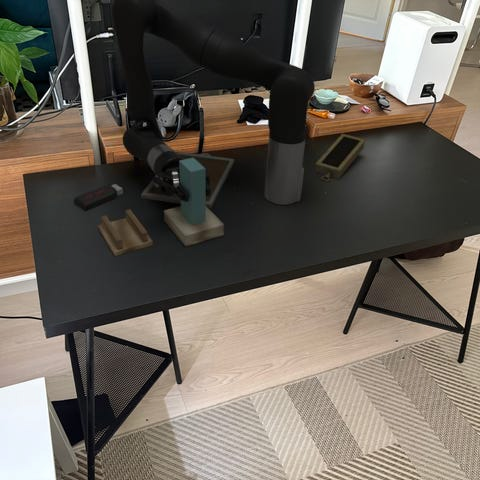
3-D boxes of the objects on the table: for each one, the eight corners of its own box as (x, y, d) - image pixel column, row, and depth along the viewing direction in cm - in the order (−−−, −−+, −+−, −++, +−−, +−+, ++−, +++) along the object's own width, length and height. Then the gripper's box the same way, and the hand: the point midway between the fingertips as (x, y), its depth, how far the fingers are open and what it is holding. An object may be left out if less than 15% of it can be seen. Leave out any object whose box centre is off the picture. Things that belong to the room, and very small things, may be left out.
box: (364, 152, 152) (366, 138, 149) (335, 191, 139) (336, 177, 135) (339, 146, 155) (341, 132, 152) (309, 184, 142) (309, 170, 139)
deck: (200, 210, 123) (200, 200, 121) (223, 234, 115) (223, 224, 113) (164, 220, 119) (163, 210, 117) (185, 246, 111) (185, 235, 109)
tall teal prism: (194, 209, 118) (193, 157, 110) (205, 221, 114) (205, 168, 106) (181, 213, 116) (179, 160, 108) (192, 225, 112) (191, 171, 104)
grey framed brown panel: (140, 194, 127) (176, 147, 151) (141, 199, 128) (176, 152, 151) (211, 204, 124) (236, 155, 148) (211, 210, 125) (236, 159, 149)
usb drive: (74, 204, 124) (72, 195, 122) (113, 189, 131) (112, 180, 130) (85, 213, 121) (84, 203, 120) (125, 196, 128) (124, 187, 127)
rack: (134, 219, 119) (133, 207, 117) (153, 244, 111) (152, 232, 109) (98, 228, 115) (96, 216, 113) (115, 256, 107) (113, 243, 105)
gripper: (138, 156, 115) (167, 188, 103) (192, 145, 121) (226, 173, 110) (141, 184, 120) (169, 217, 108) (193, 171, 126) (225, 202, 114)
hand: (197, 195), depth 109 cm, fingers open, 5 cm apart
